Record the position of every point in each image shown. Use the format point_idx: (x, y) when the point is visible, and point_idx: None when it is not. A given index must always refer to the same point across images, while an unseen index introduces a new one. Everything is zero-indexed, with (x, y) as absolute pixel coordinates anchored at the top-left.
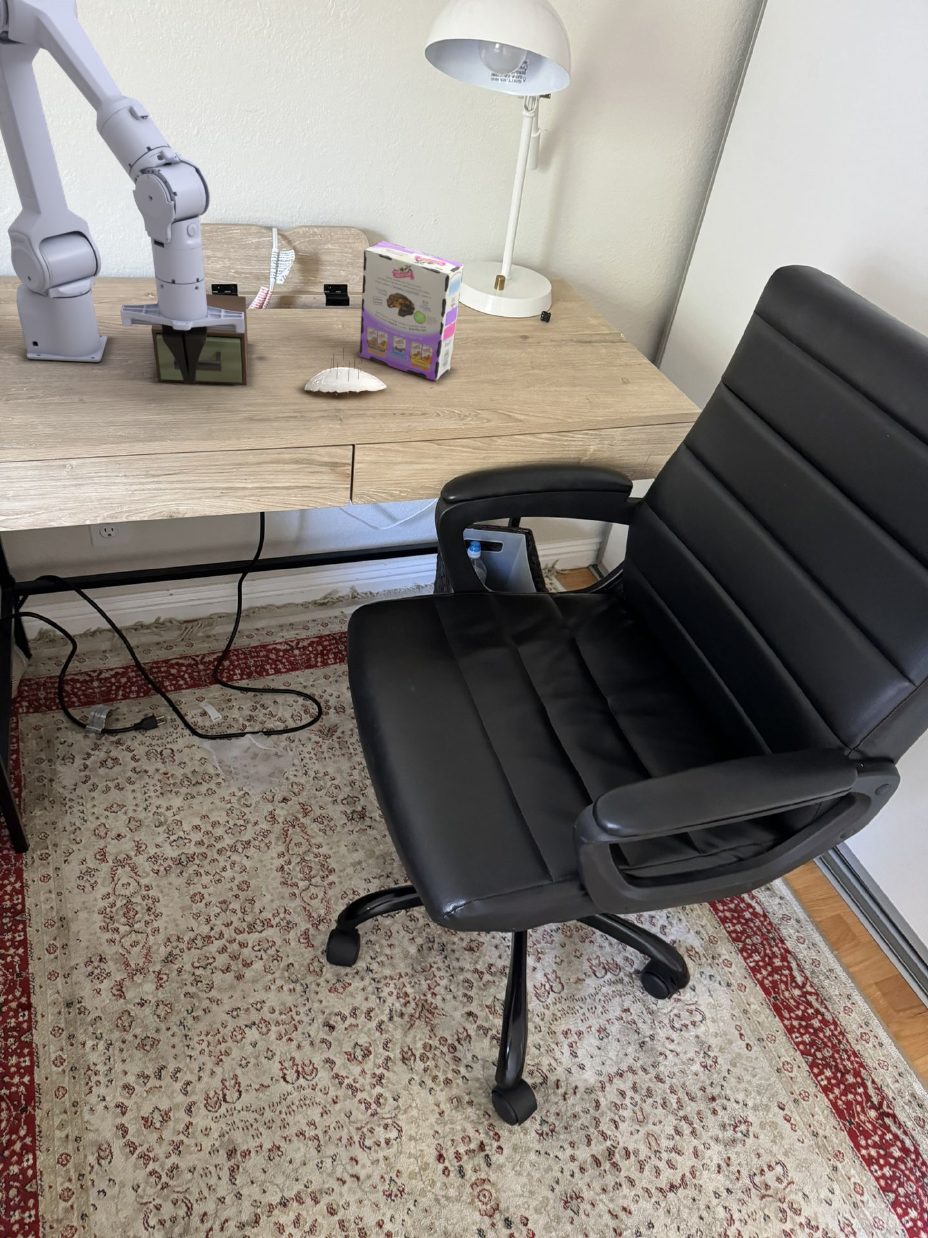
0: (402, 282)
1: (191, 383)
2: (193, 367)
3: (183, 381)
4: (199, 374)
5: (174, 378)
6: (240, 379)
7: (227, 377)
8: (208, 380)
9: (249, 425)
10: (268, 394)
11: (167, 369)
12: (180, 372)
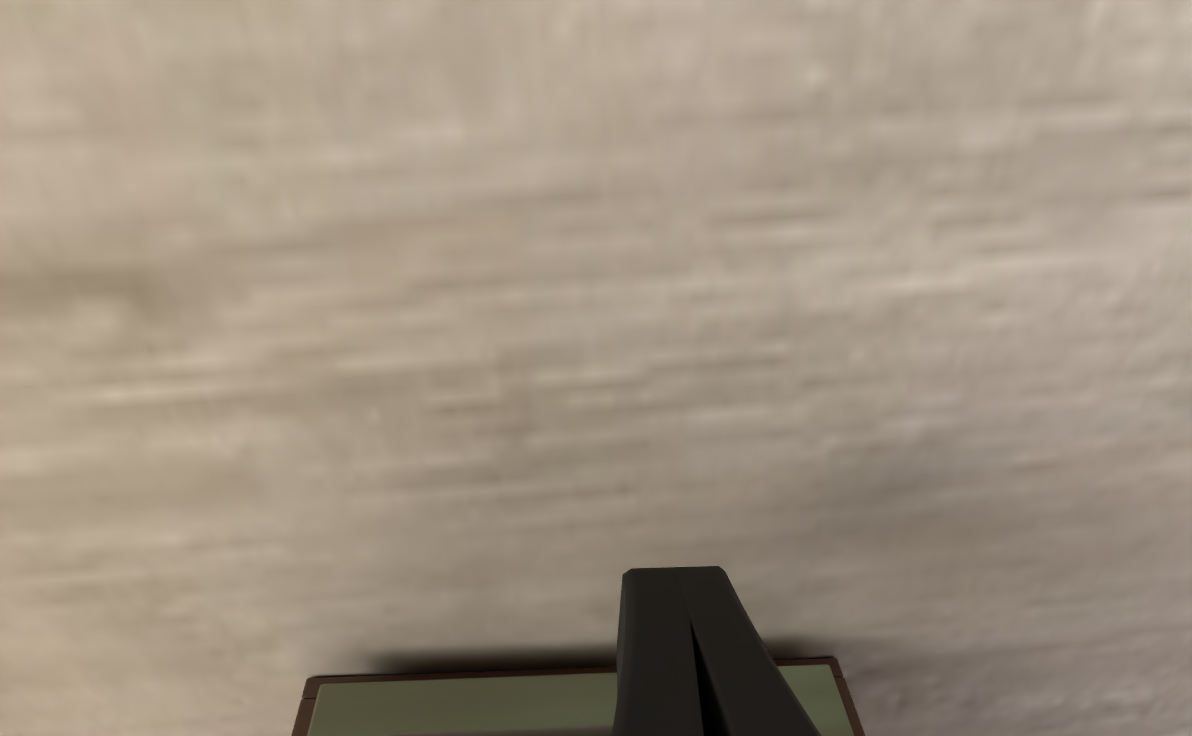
0: None
1: (658, 569)
2: (646, 730)
3: None
4: (596, 714)
5: None
6: (323, 703)
7: (410, 710)
8: (539, 679)
9: (124, 189)
10: (131, 606)
11: None
12: None
